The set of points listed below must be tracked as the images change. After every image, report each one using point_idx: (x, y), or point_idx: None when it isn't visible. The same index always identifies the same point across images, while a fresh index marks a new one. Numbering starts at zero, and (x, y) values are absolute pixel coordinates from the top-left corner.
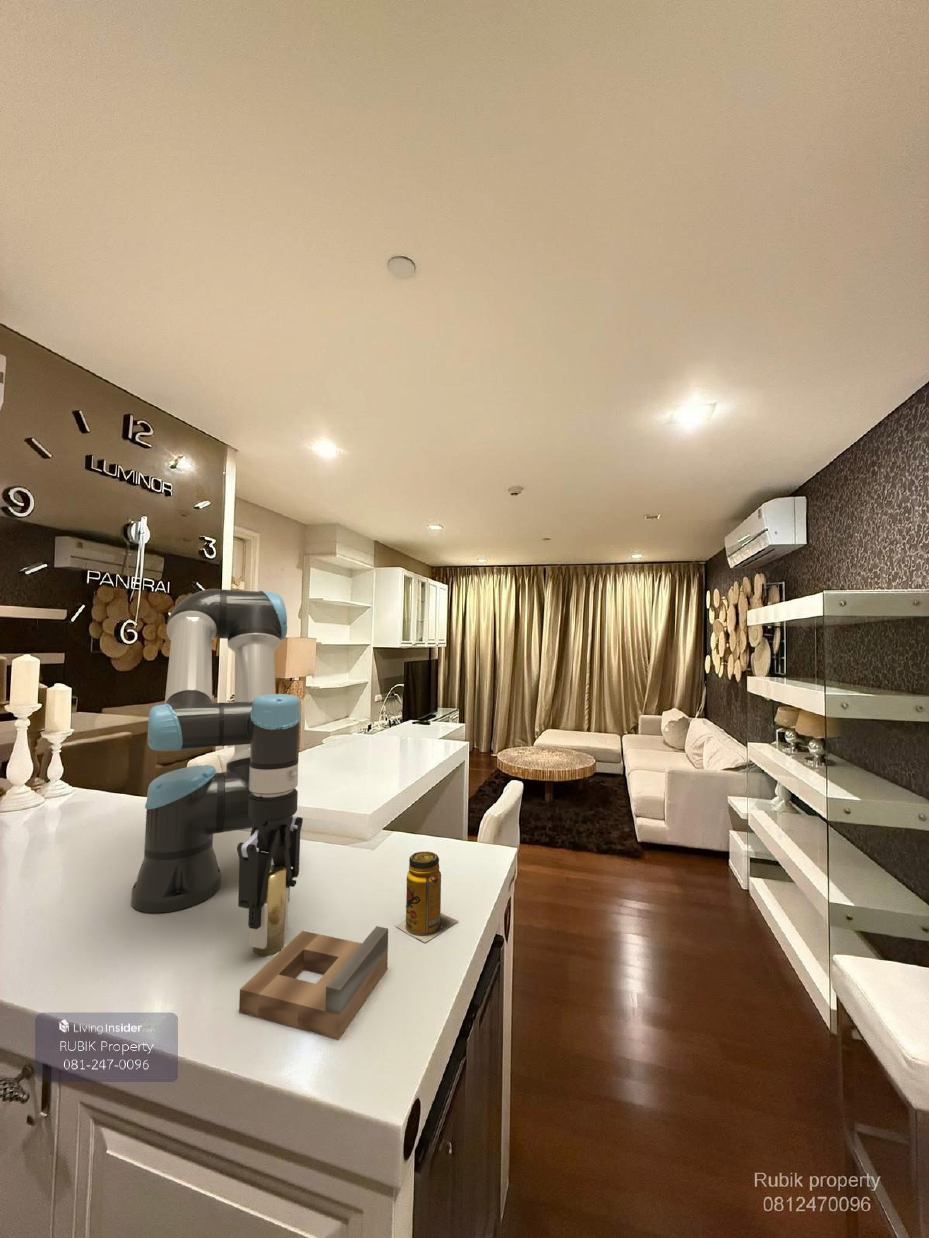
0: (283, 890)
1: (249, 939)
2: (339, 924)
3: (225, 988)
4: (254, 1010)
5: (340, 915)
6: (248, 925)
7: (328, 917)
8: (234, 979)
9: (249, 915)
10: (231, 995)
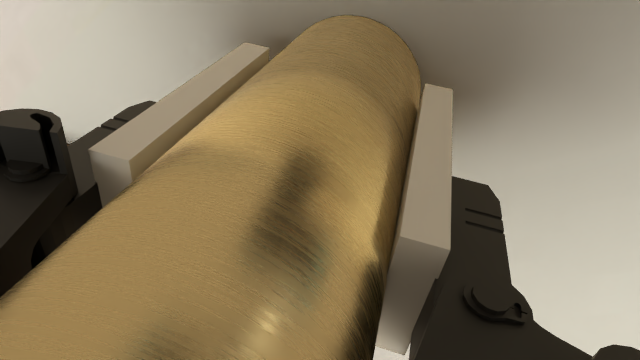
0: None
1: (230, 53)
2: (538, 313)
3: (87, 38)
4: None
5: (624, 311)
6: (128, 108)
7: (613, 271)
8: (134, 45)
9: (86, 141)
10: (76, 79)
